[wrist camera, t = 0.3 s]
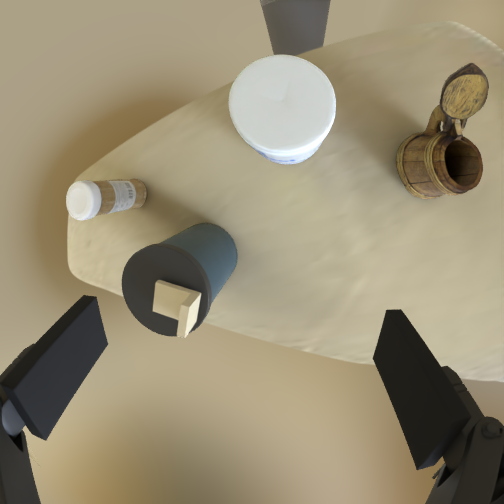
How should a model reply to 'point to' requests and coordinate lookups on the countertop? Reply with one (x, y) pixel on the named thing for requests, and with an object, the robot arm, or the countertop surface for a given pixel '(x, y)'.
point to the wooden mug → (446, 141)
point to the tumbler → (179, 273)
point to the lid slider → (177, 305)
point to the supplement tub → (282, 107)
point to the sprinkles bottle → (104, 197)
